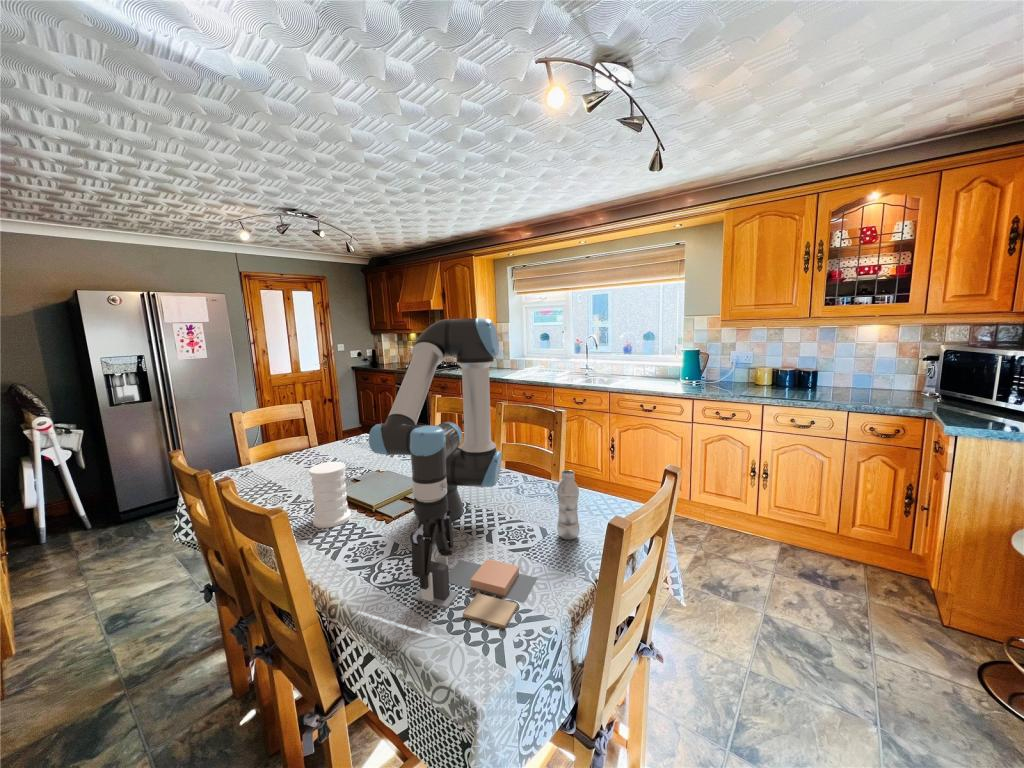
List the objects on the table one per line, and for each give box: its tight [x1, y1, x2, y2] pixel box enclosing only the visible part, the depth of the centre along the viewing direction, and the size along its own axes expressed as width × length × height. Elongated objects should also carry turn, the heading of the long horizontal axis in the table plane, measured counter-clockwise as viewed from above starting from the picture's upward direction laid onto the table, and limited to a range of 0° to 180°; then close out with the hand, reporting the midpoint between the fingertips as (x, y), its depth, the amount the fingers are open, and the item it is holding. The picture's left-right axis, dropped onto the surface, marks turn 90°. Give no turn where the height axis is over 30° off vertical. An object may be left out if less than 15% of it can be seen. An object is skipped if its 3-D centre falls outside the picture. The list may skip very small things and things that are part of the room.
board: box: [462, 592, 518, 630], centre depth 88 cm, size 10×7×1 cm
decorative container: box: [308, 461, 352, 529], centre depth 132 cm, size 12×12×18 cm
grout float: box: [413, 560, 459, 609], centre depth 93 cm, size 9×5×8 cm, turn 68°
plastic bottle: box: [556, 469, 580, 541], centre depth 118 cm, size 6×7×20 cm
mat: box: [449, 559, 539, 603], centre depth 99 cm, size 22×10×1 cm, turn 68°
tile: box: [470, 558, 520, 596], centre depth 98 cm, size 2×9×9 cm
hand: (435, 589), depth 93 cm, fingers open, 6 cm apart
